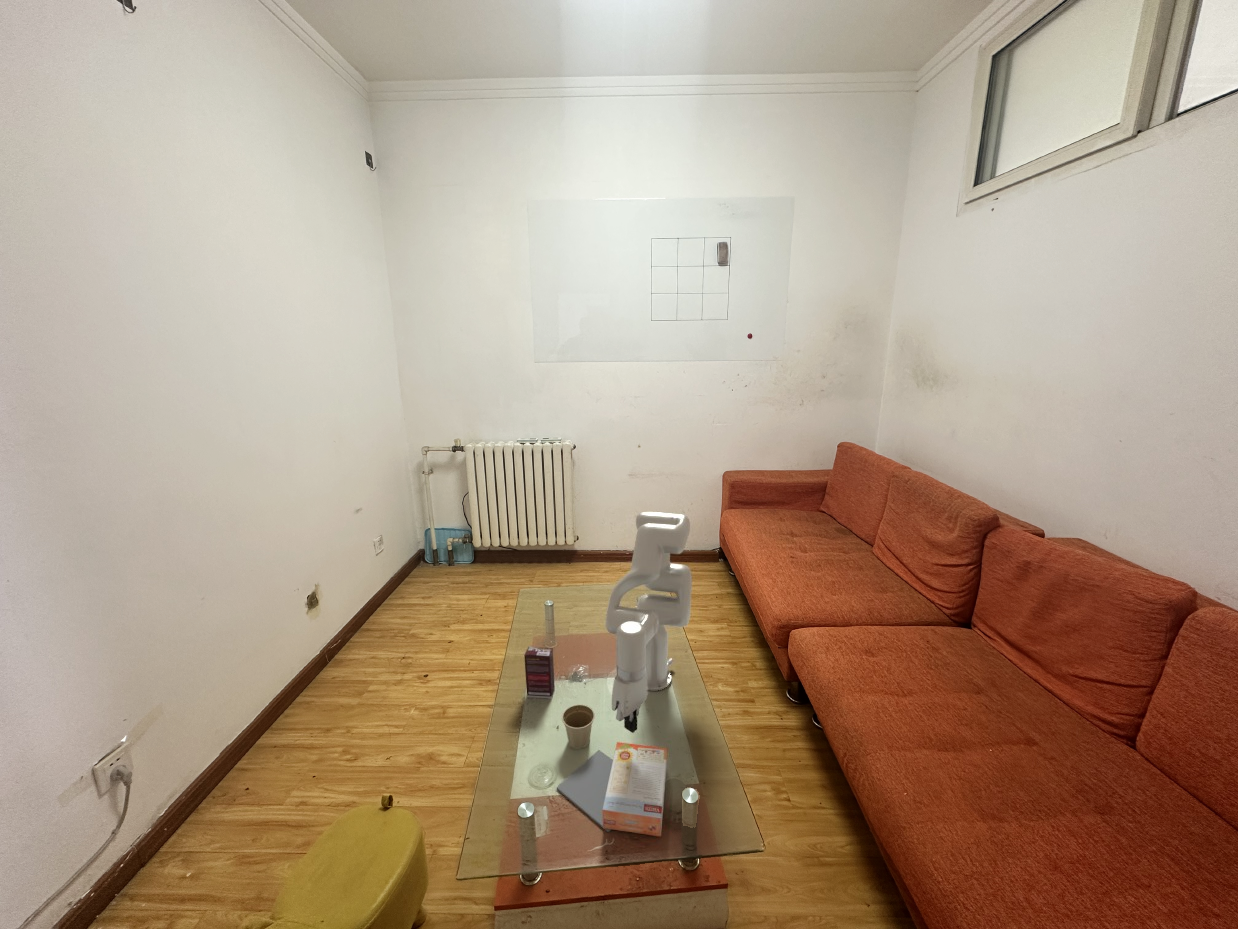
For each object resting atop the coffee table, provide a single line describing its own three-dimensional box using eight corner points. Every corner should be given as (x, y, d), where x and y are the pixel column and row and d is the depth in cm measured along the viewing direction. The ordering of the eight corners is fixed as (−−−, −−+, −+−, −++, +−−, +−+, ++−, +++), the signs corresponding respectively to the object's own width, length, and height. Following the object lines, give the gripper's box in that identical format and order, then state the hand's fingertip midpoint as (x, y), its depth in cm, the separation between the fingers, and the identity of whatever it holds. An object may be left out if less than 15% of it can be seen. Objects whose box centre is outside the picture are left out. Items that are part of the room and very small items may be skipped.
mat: (598, 751, 139) (598, 749, 138) (649, 787, 127) (649, 785, 127) (556, 789, 127) (556, 787, 127) (608, 832, 115) (608, 830, 115)
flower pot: (565, 757, 137) (564, 731, 135) (560, 732, 145) (559, 707, 143) (598, 750, 139) (597, 724, 137) (591, 726, 148) (590, 701, 146)
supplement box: (555, 689, 164) (553, 647, 160) (551, 699, 159) (550, 656, 156) (529, 687, 165) (527, 646, 161) (526, 697, 160) (523, 655, 156)
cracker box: (616, 759, 136) (601, 829, 115) (616, 740, 134) (601, 808, 114) (667, 766, 133) (660, 839, 113) (667, 747, 132) (661, 818, 112)
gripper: (637, 650, 135) (637, 707, 139) (600, 677, 124) (601, 738, 128) (659, 661, 130) (658, 720, 134) (623, 690, 119) (623, 753, 123)
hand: (630, 728), depth 131 cm, fingers closed
